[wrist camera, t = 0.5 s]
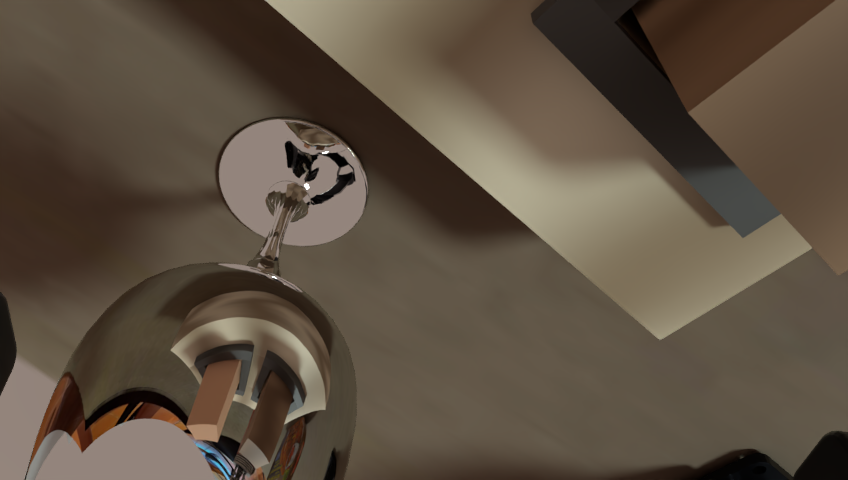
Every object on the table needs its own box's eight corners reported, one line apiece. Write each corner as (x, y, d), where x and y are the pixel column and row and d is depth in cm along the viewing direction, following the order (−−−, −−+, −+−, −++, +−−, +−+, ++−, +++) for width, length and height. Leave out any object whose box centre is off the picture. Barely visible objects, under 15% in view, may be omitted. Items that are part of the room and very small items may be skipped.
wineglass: (183, 88, 20) (-83, 451, 10) (392, 102, 20) (324, 479, 10) (210, 255, 23) (29, 644, 14) (389, 267, 23) (334, 666, 14)
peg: (925, -14, 14) (1125, 110, 10) (738, 121, 16) (838, 275, 11) (814, -182, 12) (994, -120, 8) (621, -9, 14) (687, 112, 10)
